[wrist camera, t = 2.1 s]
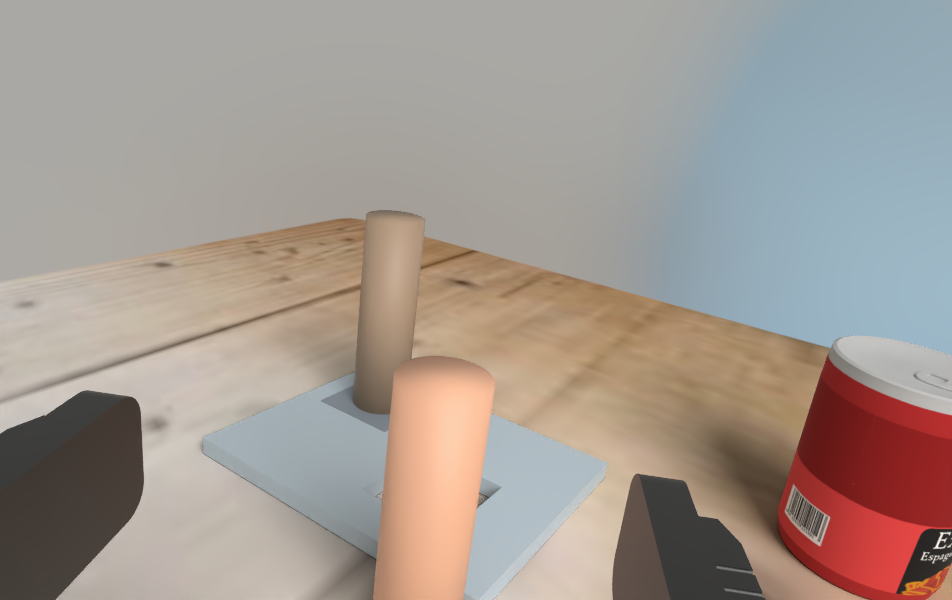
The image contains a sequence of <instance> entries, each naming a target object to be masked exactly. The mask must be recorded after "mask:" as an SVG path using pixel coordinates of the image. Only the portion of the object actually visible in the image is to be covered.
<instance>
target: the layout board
mask: <svg viewBox="0 0 952 600" xmlns="http://www.w3.org/2000/svg"><path fill="white" fill-rule="evenodd" d="M424 229H425V219H424V218H423V217H421V216H418V215H415V214H412V213H407V212H401V211H390V210H379V211H372V212H368V213H367V214H366V225H365V239H364V253H363V267H362V281H361V295H360V309H359V323H358V337H357V351H356V364H355V372H353V373H350V374H348V375H346V376H343V377H341V378H339V379H336V380H334V381H332V382H329V383H327V384H325V385H323V386H320V387H318V388H316V389H313V390H311V391H309V392H306V393H304V394H302V395H300V396H297V397H295V398H293V399H290V400H288V401H286V402H283V403H281V404H279V405H276V406H274V407H272V408H270V409H267V410H265V411H263V412H260V413H258V414H256V415H253V416H251V417H249V418H247V419H244V420H242V421H240V422H237V423H235V424H233V425H230V426H228V427H226V428H223V429H221V430H219V431H217V432H214V433H212V434H210V435H207V436H205V437H203V453H204V454H205V455H207V456H209V457H210V458H212V459H213V460H215V461H217V462H218V463H220V464H222V465H223V466H225V467H226V468H228V469H230V470H231V471H233V472H235V473H236V474H238V475H240V476H241V477H243V478H244V479H246V480H248V481H249V482H251V483H253V484H254V485H256V486H258V487H259V488H261V489H262V490H264V491H266V492H267V493H269V494H271V495H272V496H274V497H275V498H277V499H279V500H280V501H282V502H284V503H285V504H287V505H289V506H290V507H292V508H293V509H295V510H297V511H298V512H300V513H302V514H303V515H305V516H307V517H308V518H310V519H311V520H313V521H315V522H316V523H318V524H320V525H321V526H323V527H324V528H326V529H328V530H329V531H331V532H333V533H334V534H336V535H338V536H339V537H341V538H342V539H344V540H346V541H347V542H349V543H351V544H352V545H354V546H356V547H357V548H359V549H360V550H362V551H364V552H365V553H367V554H369V555H370V556H372V557H373V558H375V559H377V550H378V539H379V528H380V517H381V507H382V500H380V499H378V498H376V497H375V496H377V495H378V494H379V493H381V492H382V491H383V485H384V475H385V464H386V453H387V442H388V432H389V421H390V410H391V399H392V389H393V378H394V371H395V369H396V368H397V367H398V366H399V365H400V364H401V363H403V362H405V361H407V360H410V359H411V357H412V347H413V337H414V327H415V317H416V308H417V298H418V288H419V278H420V268H421V258H422V248H423V239H424ZM607 464H608V463H606V462H604V461H601V460H599V459H597V458H594V457H592V456H590V455H587V454H585V453H583V452H580V451H578V450H576V449H573V448H571V447H569V446H566V445H564V444H562V443H559V442H557V441H555V440H552V439H550V438H548V437H545V436H543V435H541V434H538V433H536V432H534V431H531V430H529V429H527V428H525V427H522V426H520V425H518V424H515V423H513V422H511V421H508V420H506V419H504V418H501V417H499V416H497V415H494V414H492V413H491V417H490V424H489V431H488V438H487V444H486V451H485V458H484V464H483V471H482V478H481V485H480V491H479V493H481V494H483V495H485V496H487V497H489V499H487V500H486V501H485V502H484V503H483V504H482V505H480V506H479V507H478V508H477V511H476V518H475V525H474V532H473V538H472V545H471V552H470V558H469V565H468V572H467V579H466V585H465V592H464V599H463V600H493V599H494V598H495V597H496V596H497V594H498V593H499V592H500V591H501V590H502V589H503V588H504V587H505V586H506V585H507V584H508V582H509V581H510V580H511V579H512V578H513V577H514V576H515V575H516V574H517V573H518V572H519V570H520V569H521V568H522V567H523V566H524V565H525V564H526V563H527V562H528V561H529V560H530V558H531V557H532V556H533V555H534V554H535V553H536V552H537V551H538V550H539V549H540V548H541V546H542V545H543V544H544V543H545V542H546V541H547V540H548V539H549V538H550V537H551V536H552V534H553V533H554V532H555V531H556V530H557V529H558V528H559V527H560V526H561V525H562V524H563V522H564V521H565V520H566V519H567V518H568V517H569V516H570V515H571V514H572V513H573V512H574V510H575V509H576V508H577V507H578V506H579V505H580V504H581V503H582V502H583V501H584V500H585V498H586V497H587V496H588V495H589V494H590V493H591V492H592V491H593V490H594V489H595V488H596V486H597V485H598V484H599V483H600V482H601V481H602V480H603V479H604V478H605V473H606V469H607Z"/></svg>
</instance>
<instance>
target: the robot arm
mask: <svg viewBox="0 0 952 600" xmlns="http://www.w3.org/2000/svg"><path fill="white" fill-rule="evenodd" d="M143 485H144V473H143V452H142V431H141V412H140V407H139V404H138V402H137V401H136V399H134V398H133V397H128V396H121V395H115V394H108V393H101V392H95V391H82V392H80V393H78V394H77V395H75V396H74V397H72V398H71V399H69V400H68V401H66V402H65V403H63V404H62V405H60V406H59V407H57V408H56V409H55V410H53V411H52V412H50V413H49V414H47V415H46V416H41V417H39V418H36V419H33V420H31V421H28V422H25V423H23V424H20V425H18V426H15V427H12V428H10V429H7V430H6V431H4V432H2V433H1V434H0V600H56V598H57V597H58V596H59V595H60V594H61V593H62V592H63V591H64V590H65V589H66V588H67V587H68V586H69V585H70V583H71V582H72V581H73V580H74V579H75V578H76V577H77V576H78V575H79V574H80V573H81V572H82V571H83V570H84V568H85V567H86V566H87V565H88V564H89V563H90V562H91V561H92V560H93V559H94V558H95V557H96V556H97V555H98V553H99V552H100V551H101V550H102V549H103V548H104V547H105V546H106V545H107V544H108V543H109V542H110V541H111V539H112V538H113V537H114V536H115V535H116V534H117V533H118V532H119V531H120V530H121V529H122V528H123V527H124V526H125V524H126V523H127V522H128V521H129V520H130V519H131V517H132V516H133V514H134V513H135V511H136V509H137V507H138V505H139V502H140V499H141V496H142V491H143ZM752 571H753V570H752V567H751V565H750V563H749V560H748V558H747V556H746V554H745V551H744V549H743V547H742V544H741V543H740V542H739V541H738V540H737V539H736V538H735V537H734V536H733V535H732V534H731V533H730V531H729V530H728V529H727V528H726V527H725V526H724V525H723V524H722V523H721V522H720V521H719V520H718V519H713V518H707V517H700V516H698V514H697V512H696V509H695V506H694V503H693V501H692V498H691V495H690V492H689V489H688V487H687V484H686V483H685V482H684V481H682V480H675V479H668V478H662V477H655V476H648V475H642V474H635V475H634V477H633V479H632V482H631V485H630V490H629V494H628V499H627V503H626V508H625V512H624V517H623V522H622V526H621V531H620V535H619V540H618V545H617V549H616V554H615V559H614V567H613V581H612V592H613V600H765V598H762V591H761V588H760V586H759V584H758V581H757V579H756V577H755V575H753V574H752Z"/></svg>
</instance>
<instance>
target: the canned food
mask: <svg viewBox="0 0 952 600" xmlns="http://www.w3.org/2000/svg"><path fill="white" fill-rule="evenodd" d="M778 527H779V532H780V535H781V538H782V540H783V541H784V543H785V544H786V546H787V547H788V548H789V550H790V551H791V552H792V553H793V554H794V555H795V556H796V557H797V558H798V559H799V560H800V561H801V562H802V563H803V564H804V565H805V566H807V567H808V568H809V569H811V570H812V571H813V572H815V573H816V574H818V575H819V576H820V577H822V578H824V579H825V580H827V581H829V582H831V583H832V584H834V585H836V586H838V587H840V588H842V589H844V590H846V591H848V592H851V593H853V594H856V595H859V596H861V597H864V598H867V599H871V600H926V599H927V598H929V597H930V596H931V595H932V594H933V593H934V592H936V591H937V590H938V589H939V588H940V586H941V585H942V583H943V581H944V579H945V577H946V575H947V572H948V570H949V568H950V566H951V563H952V356H950V355H947V354H945V353H942V352H939V351H935V350H933V349H929V348H926V347H922V346H919V345H915V344H911V343H906V342H902V341H897V340H892V339H887V338H879V337H871V336H846V337H841V338H838V339H836V340H835V341H834V343H833V345H832V347H831V349H830V351H829V353H828V355H827V358H826V361H825V364H824V367H823V370H822V372H821V375H820V378H819V381H818V385H817V388H816V391H815V394H814V397H813V400H812V403H811V407H810V410H809V413H808V416H807V419H806V422H805V425H804V429H803V432H802V435H801V438H800V441H799V444H798V448H797V451H796V454H795V457H794V460H793V463H792V466H791V470H790V473H789V476H788V479H787V482H786V485H785V488H784V492H783V495H782V498H781V501H780V504H779V507H778Z"/></svg>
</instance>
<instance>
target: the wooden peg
mask: <svg viewBox="0 0 952 600" xmlns="http://www.w3.org/2000/svg"><path fill="white" fill-rule="evenodd" d="M494 391H495V380H494V378H493V376H492V375H491V374H490V373H489V372H488V371H487V370H485V369H484V368H482V367H480V366H478V365H476V364H474V363H471V362H468V361H465V360H462V359H457V358H452V357H444V356H425V357H418V358H414V359H410V360H407V361H405V362H403V363H401V364H400V365H399V366H398V367H397V368H396V369H395V371H394V378H393V389H392V399H391V410H390V421H389V432H388V442H387V453H386V464H385V475H384V485H383V496H382V507H381V517H380V528H379V539H378V550H377V560H376V571H375V582H374V593H373V600H463V599H464V592H465V585H466V579H467V572H468V565H469V558H470V552H471V545H472V538H473V532H474V525H475V518H476V511H477V505H478V498H479V491H480V485H481V478H482V471H483V464H484V458H485V451H486V444H487V438H488V431H489V424H490V417H491V411H492V404H493V397H494Z"/></svg>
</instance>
